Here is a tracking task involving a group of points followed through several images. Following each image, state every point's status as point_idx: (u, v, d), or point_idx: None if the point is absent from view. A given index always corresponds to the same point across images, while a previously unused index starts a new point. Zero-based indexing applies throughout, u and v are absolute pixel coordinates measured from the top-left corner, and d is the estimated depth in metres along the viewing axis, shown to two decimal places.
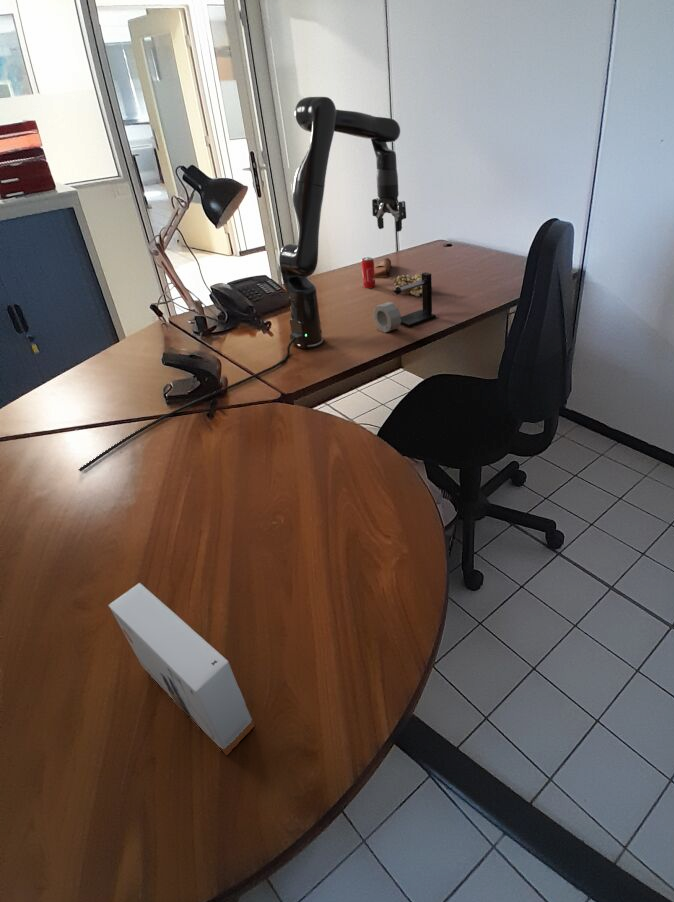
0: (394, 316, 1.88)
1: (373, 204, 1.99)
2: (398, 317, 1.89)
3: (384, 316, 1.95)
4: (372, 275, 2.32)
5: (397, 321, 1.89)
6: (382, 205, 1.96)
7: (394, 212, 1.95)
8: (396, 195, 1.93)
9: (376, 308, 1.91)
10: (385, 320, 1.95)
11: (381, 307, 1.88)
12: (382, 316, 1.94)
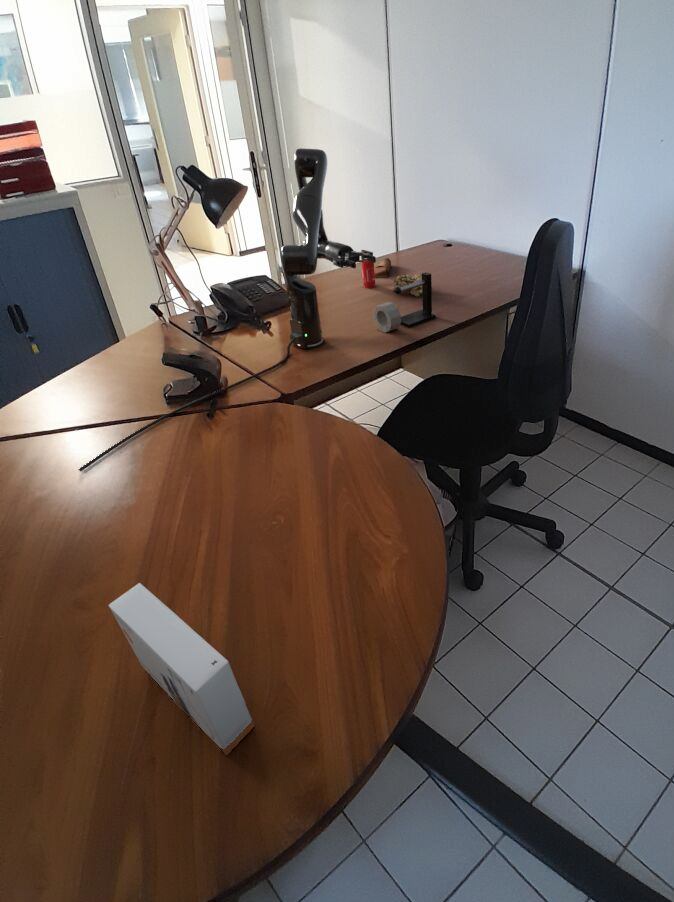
0: (394, 316, 1.88)
1: (336, 258, 1.92)
2: (398, 317, 1.89)
3: (384, 316, 1.95)
4: (372, 275, 2.32)
5: (397, 321, 1.89)
6: (347, 253, 1.94)
7: None
8: None
9: (376, 308, 1.91)
10: (385, 320, 1.95)
11: (381, 307, 1.88)
12: (382, 316, 1.94)
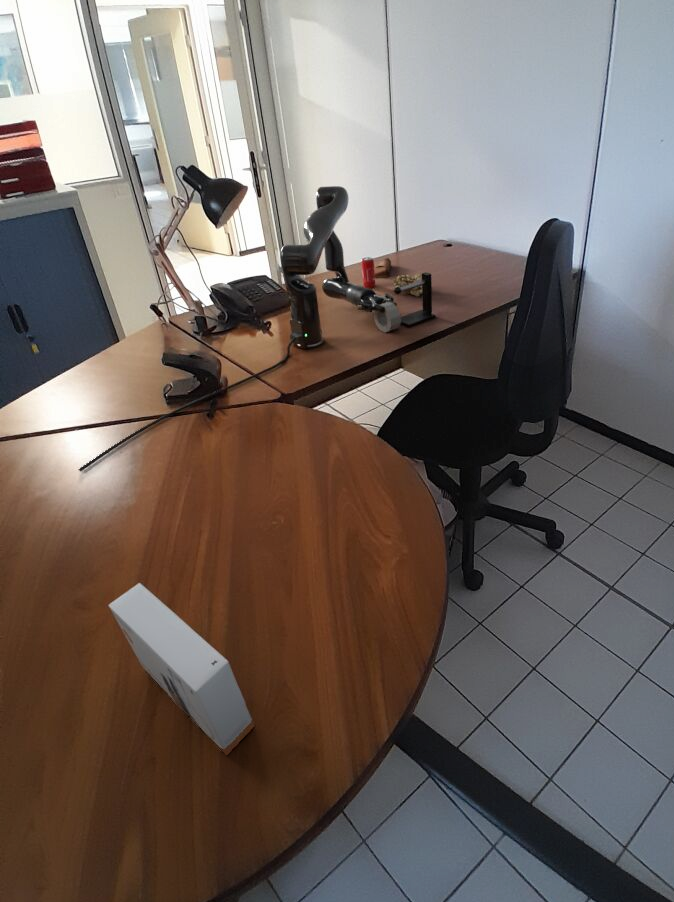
0: (394, 316, 1.88)
1: (361, 303, 1.91)
2: (398, 317, 1.89)
3: (384, 316, 1.95)
4: (372, 275, 2.32)
5: (397, 321, 1.89)
6: (370, 297, 1.93)
7: None
8: None
9: None
10: (385, 320, 1.95)
11: None
12: (382, 316, 1.94)
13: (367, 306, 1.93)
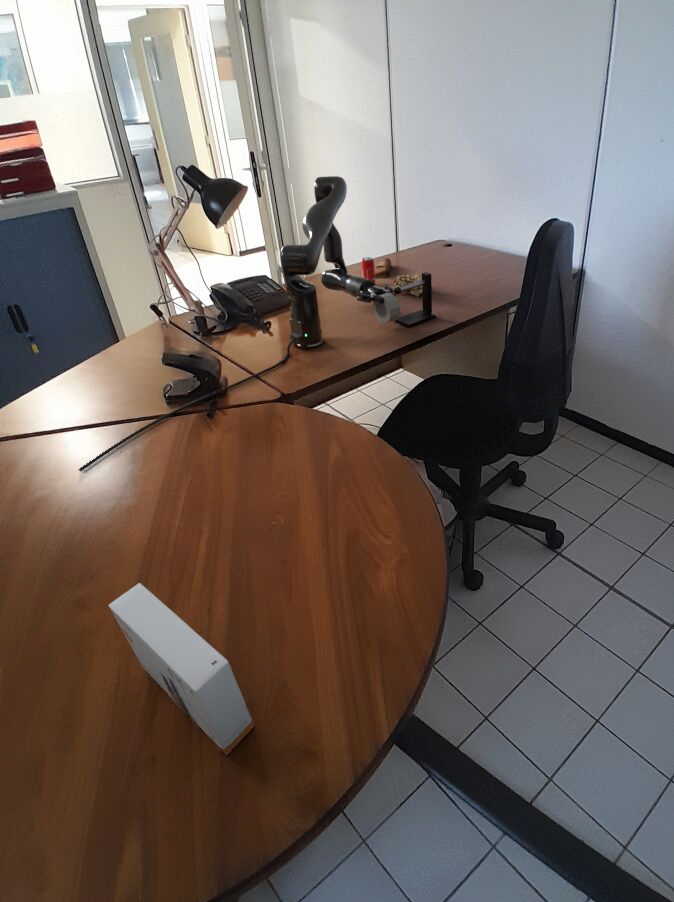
0: (393, 307, 1.86)
1: (360, 293, 1.89)
2: (397, 308, 1.87)
3: (383, 307, 1.93)
4: (372, 275, 2.32)
5: (396, 312, 1.88)
6: (369, 288, 1.92)
7: None
8: None
9: None
10: (384, 311, 1.93)
11: None
12: (381, 307, 1.92)
13: (366, 297, 1.91)
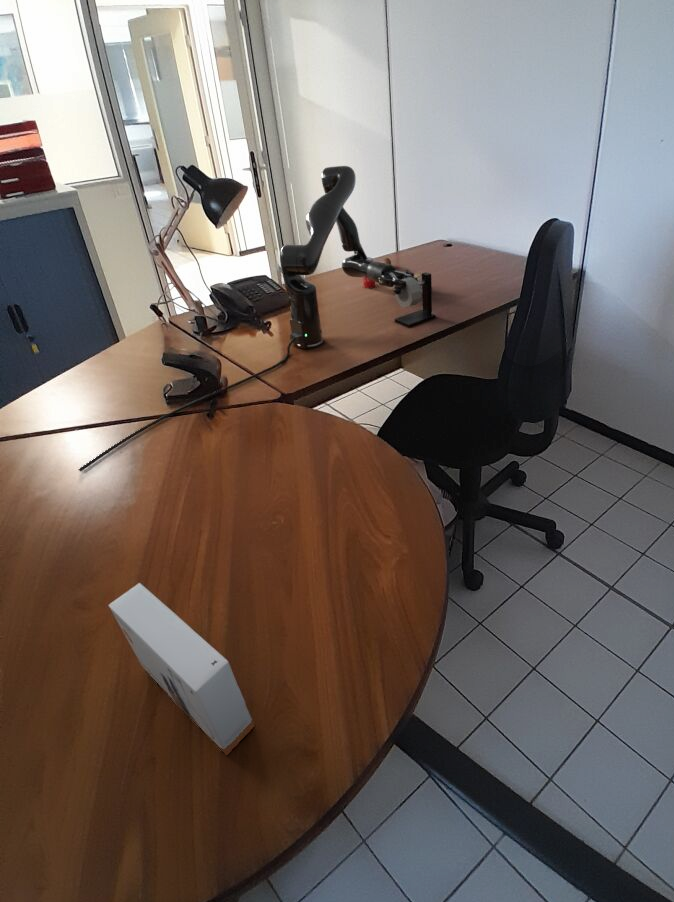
0: (415, 291, 1.90)
1: (383, 278, 1.93)
2: (419, 292, 1.91)
3: (404, 292, 1.97)
4: None
5: (418, 296, 1.91)
6: (390, 272, 1.95)
7: (404, 273, 1.96)
8: None
9: None
10: (406, 295, 1.97)
11: None
12: (403, 291, 1.96)
13: (388, 281, 1.95)
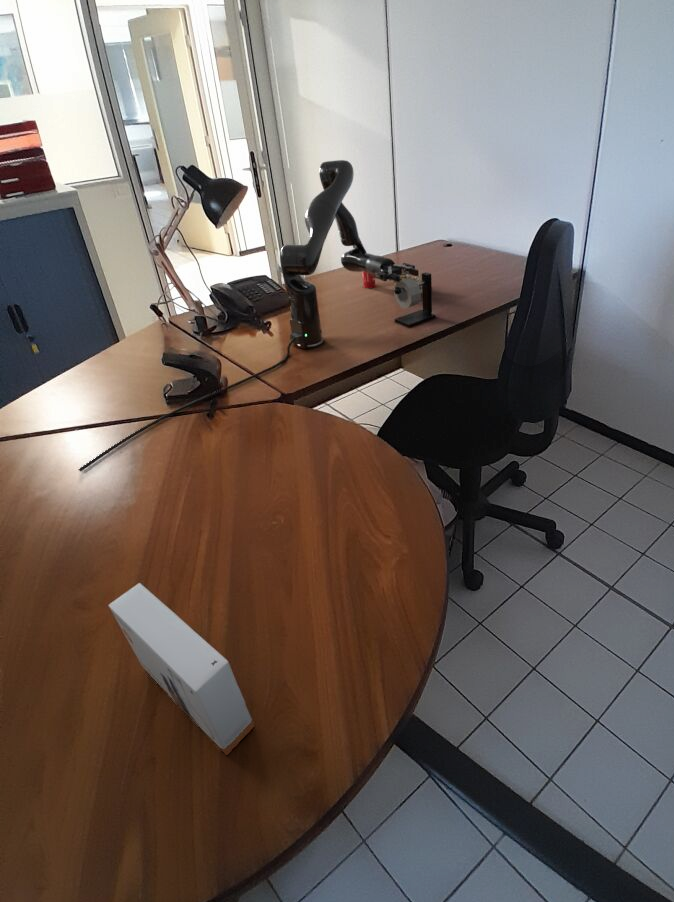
0: (415, 293, 1.90)
1: (379, 271, 1.92)
2: (418, 294, 1.92)
3: (404, 292, 1.97)
4: (372, 275, 2.32)
5: (417, 298, 1.92)
6: (389, 266, 1.95)
7: None
8: None
9: (397, 284, 1.93)
10: (405, 295, 1.97)
11: (402, 283, 1.91)
12: (402, 292, 1.96)
13: None
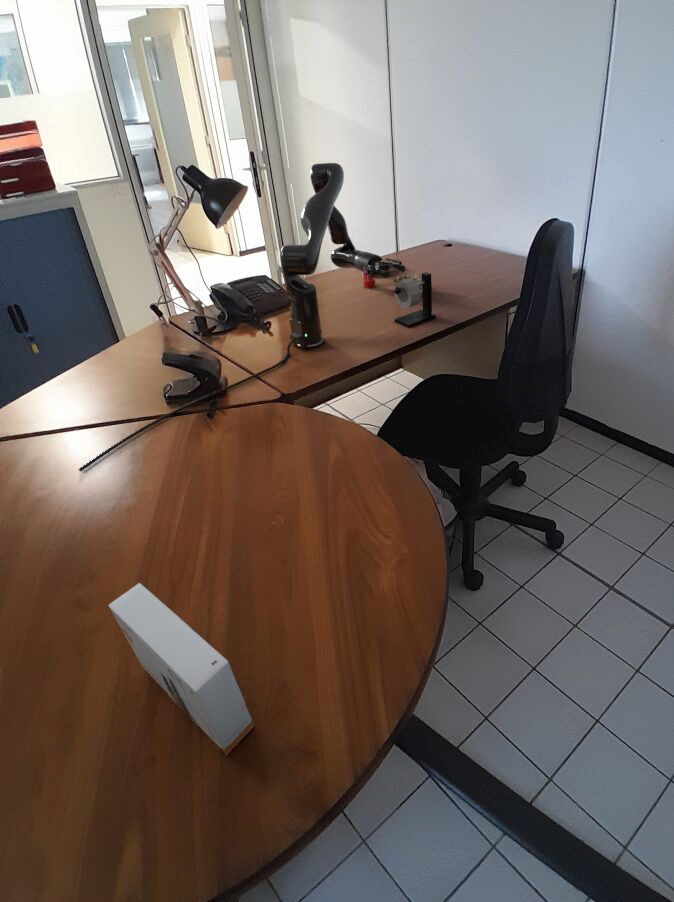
0: (415, 293, 1.90)
1: (366, 267, 1.97)
2: (419, 294, 1.91)
3: (404, 292, 1.97)
4: None
5: (417, 298, 1.92)
6: (377, 262, 1.99)
7: None
8: None
9: (397, 284, 1.93)
10: (405, 296, 1.97)
11: (402, 283, 1.91)
12: (402, 292, 1.96)
13: None
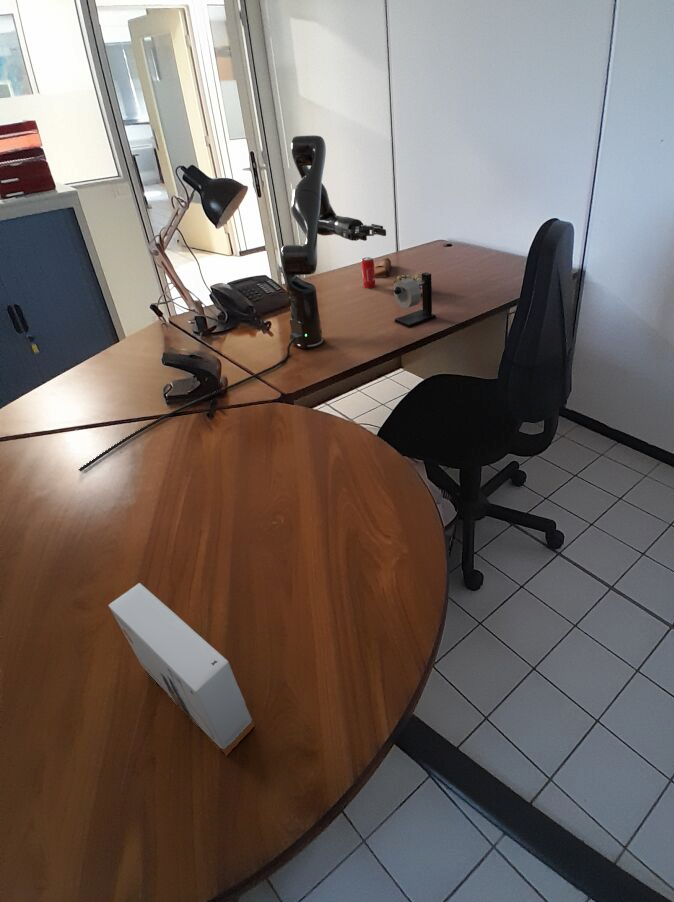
0: (415, 293, 1.90)
1: (346, 231, 1.92)
2: (418, 294, 1.92)
3: (404, 291, 1.97)
4: (372, 275, 2.32)
5: (417, 298, 1.92)
6: (357, 226, 1.95)
7: None
8: None
9: (397, 283, 1.93)
10: (404, 295, 1.97)
11: (402, 283, 1.91)
12: None
13: None
